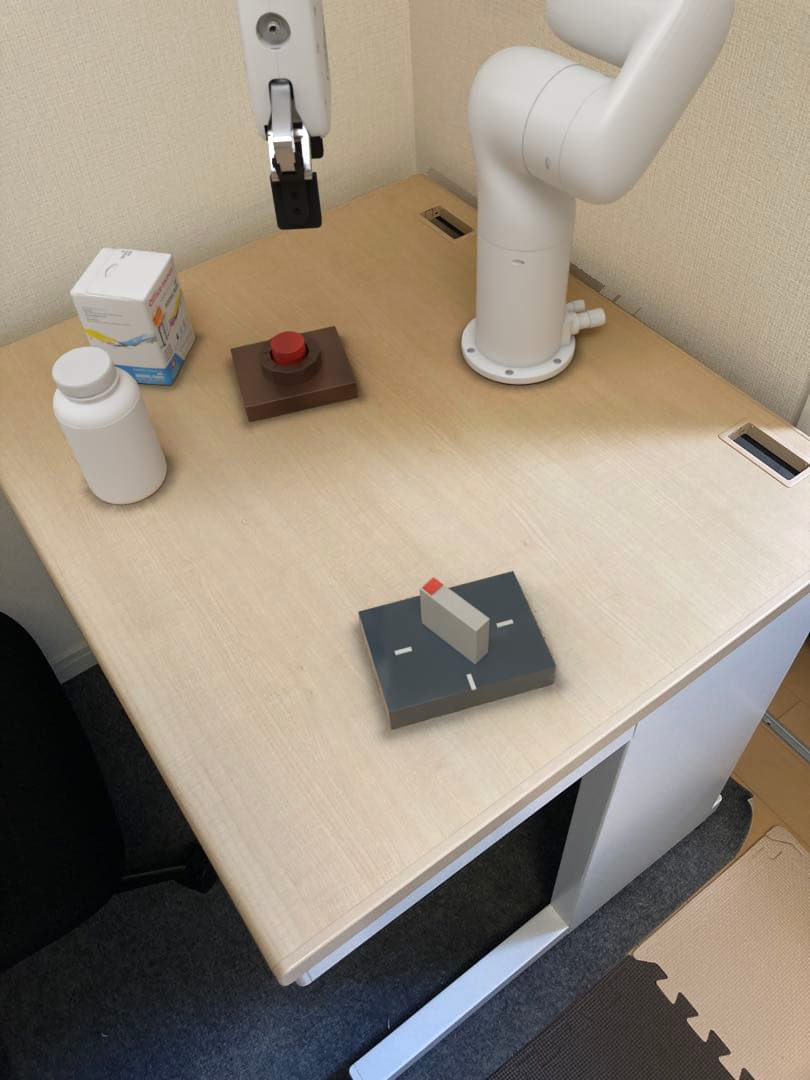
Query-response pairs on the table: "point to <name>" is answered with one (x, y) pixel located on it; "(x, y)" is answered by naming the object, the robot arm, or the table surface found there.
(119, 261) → the ink box
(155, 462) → the pill bottle
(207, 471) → the table surface
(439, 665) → the rotary knob panel
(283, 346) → the button
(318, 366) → the button block
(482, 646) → the beige rectangular block
